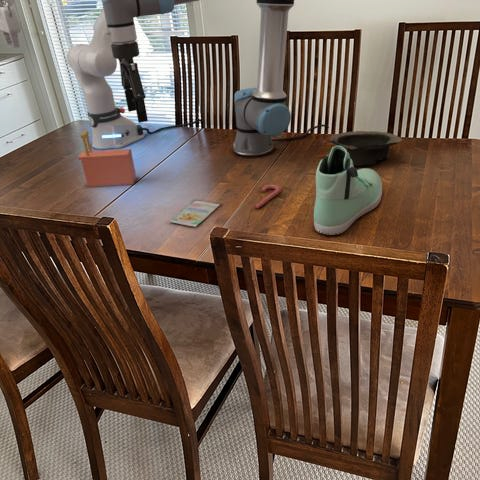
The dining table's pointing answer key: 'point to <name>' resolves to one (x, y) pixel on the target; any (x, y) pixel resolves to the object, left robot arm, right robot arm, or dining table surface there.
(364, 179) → the sneaker
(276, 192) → the candy cane
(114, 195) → the dining table surface
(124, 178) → the open box
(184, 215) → the baking ingredient package
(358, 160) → the dark brown hat
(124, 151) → the block with yellow handle
